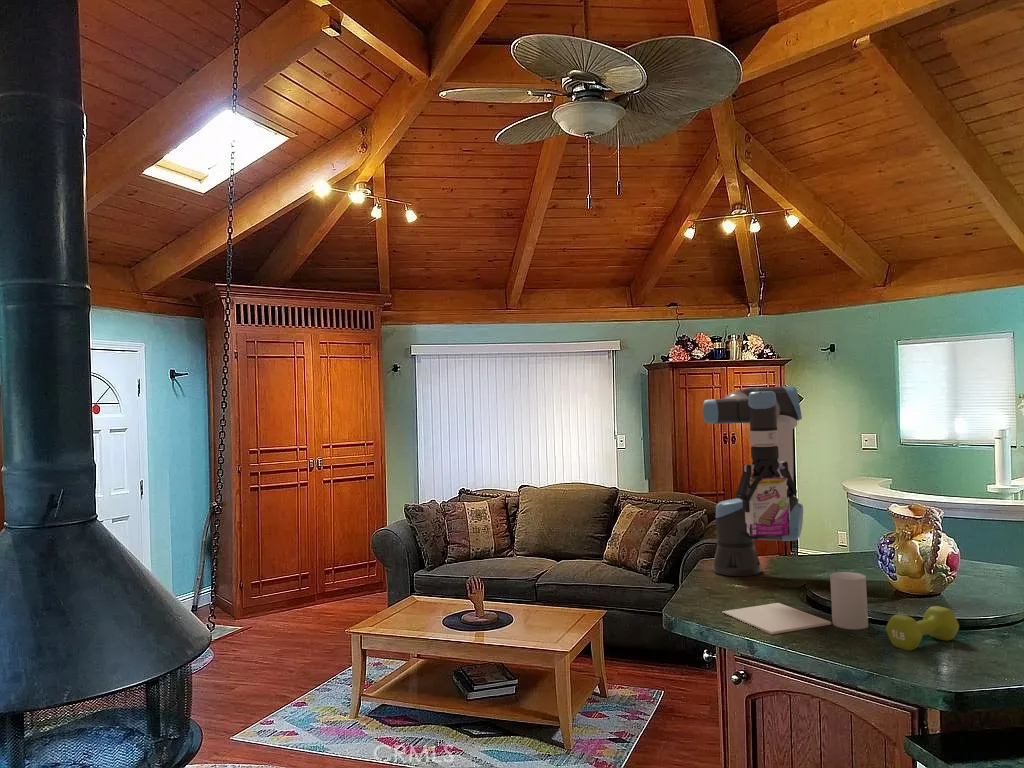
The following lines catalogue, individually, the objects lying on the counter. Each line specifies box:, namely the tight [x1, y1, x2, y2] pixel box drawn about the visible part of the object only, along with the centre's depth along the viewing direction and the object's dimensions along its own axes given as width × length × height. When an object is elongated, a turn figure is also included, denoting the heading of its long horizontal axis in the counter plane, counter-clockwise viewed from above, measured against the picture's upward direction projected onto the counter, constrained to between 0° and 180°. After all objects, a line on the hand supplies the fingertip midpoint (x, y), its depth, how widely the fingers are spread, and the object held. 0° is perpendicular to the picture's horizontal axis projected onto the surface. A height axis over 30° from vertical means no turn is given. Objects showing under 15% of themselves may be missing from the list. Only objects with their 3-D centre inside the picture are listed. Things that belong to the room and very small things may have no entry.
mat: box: [721, 602, 832, 635], centre depth 198 cm, size 18×20×1 cm
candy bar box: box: [747, 476, 790, 536], centre depth 220 cm, size 11×5×16 cm, turn 84°
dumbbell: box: [885, 605, 960, 651], centre depth 175 cm, size 16×8×7 cm, turn 115°
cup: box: [829, 571, 869, 630], centre depth 191 cm, size 8×8×12 cm
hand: (767, 521), depth 220 cm, fingers closed on candy bar box, 12 cm apart
